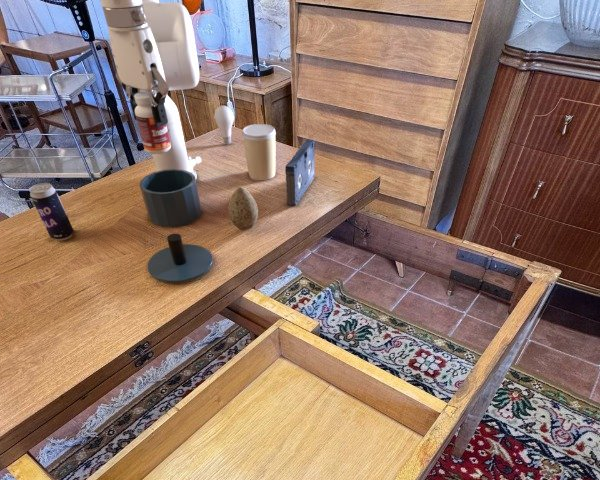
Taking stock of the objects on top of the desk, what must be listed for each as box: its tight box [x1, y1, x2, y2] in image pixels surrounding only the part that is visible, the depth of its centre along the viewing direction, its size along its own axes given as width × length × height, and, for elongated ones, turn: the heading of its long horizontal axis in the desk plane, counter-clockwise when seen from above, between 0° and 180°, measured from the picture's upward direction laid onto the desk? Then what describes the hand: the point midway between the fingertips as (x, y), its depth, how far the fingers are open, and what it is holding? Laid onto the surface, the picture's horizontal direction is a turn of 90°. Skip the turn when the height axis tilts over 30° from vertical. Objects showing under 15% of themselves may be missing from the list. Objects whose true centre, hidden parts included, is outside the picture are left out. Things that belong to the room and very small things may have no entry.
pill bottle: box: [134, 91, 171, 155], centre depth 99 cm, size 6×6×11 cm
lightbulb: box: [213, 105, 235, 146], centre depth 141 cm, size 6×6×11 cm
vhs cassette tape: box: [284, 139, 316, 207], centre depth 119 cm, size 18×3×10 cm, turn 161°
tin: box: [139, 169, 202, 228], centre depth 113 cm, size 14×14×8 cm
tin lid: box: [147, 233, 214, 284], centre depth 98 cm, size 15×15×7 cm
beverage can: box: [29, 182, 74, 242], centre depth 105 cm, size 6×6×12 cm
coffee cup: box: [241, 123, 277, 181], centre depth 126 cm, size 9×9×12 cm
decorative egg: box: [227, 187, 259, 231], centre depth 107 cm, size 7×7×10 cm
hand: (151, 120), depth 99 cm, fingers closed on pill bottle, 6 cm apart
